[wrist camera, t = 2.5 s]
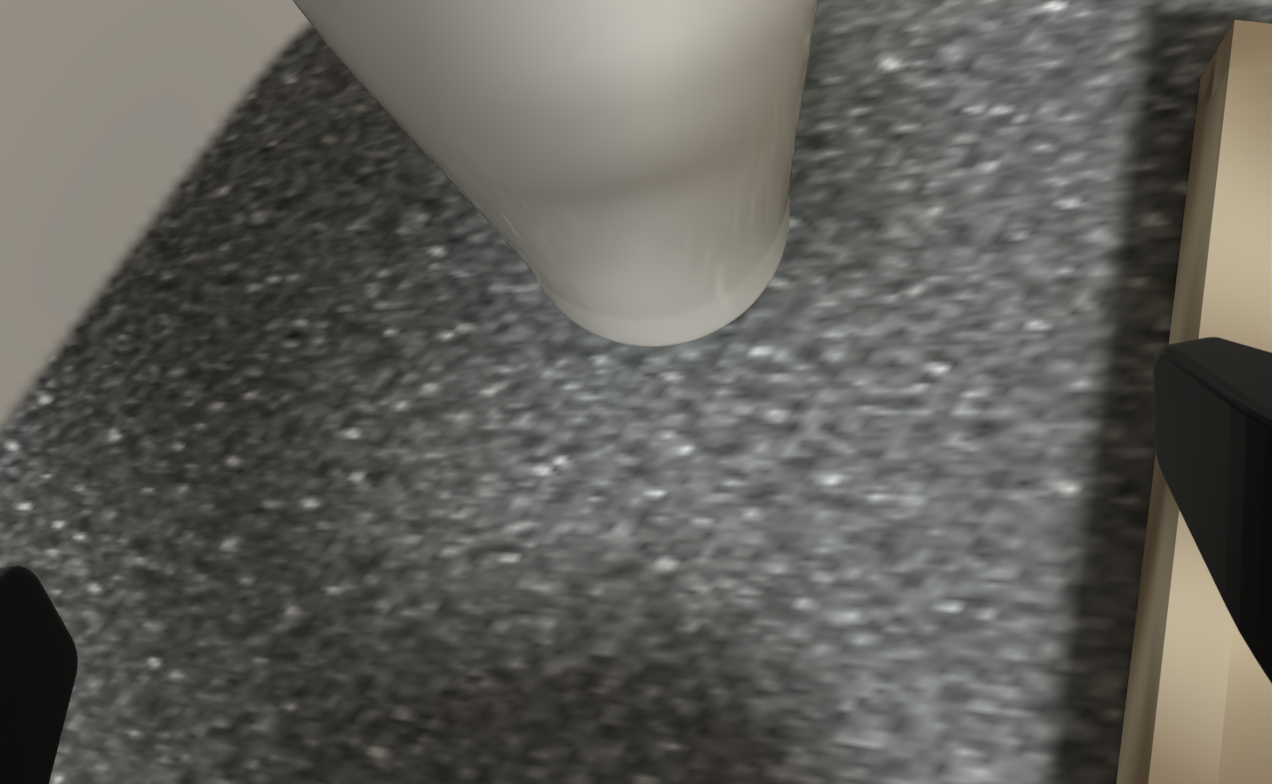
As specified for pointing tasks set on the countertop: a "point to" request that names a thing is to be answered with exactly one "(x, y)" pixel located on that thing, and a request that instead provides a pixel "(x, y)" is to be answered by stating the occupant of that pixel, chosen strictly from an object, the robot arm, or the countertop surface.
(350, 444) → the countertop surface
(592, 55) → the drinking glass
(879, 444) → the countertop surface
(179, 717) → the countertop surface
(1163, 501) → the pin tray
